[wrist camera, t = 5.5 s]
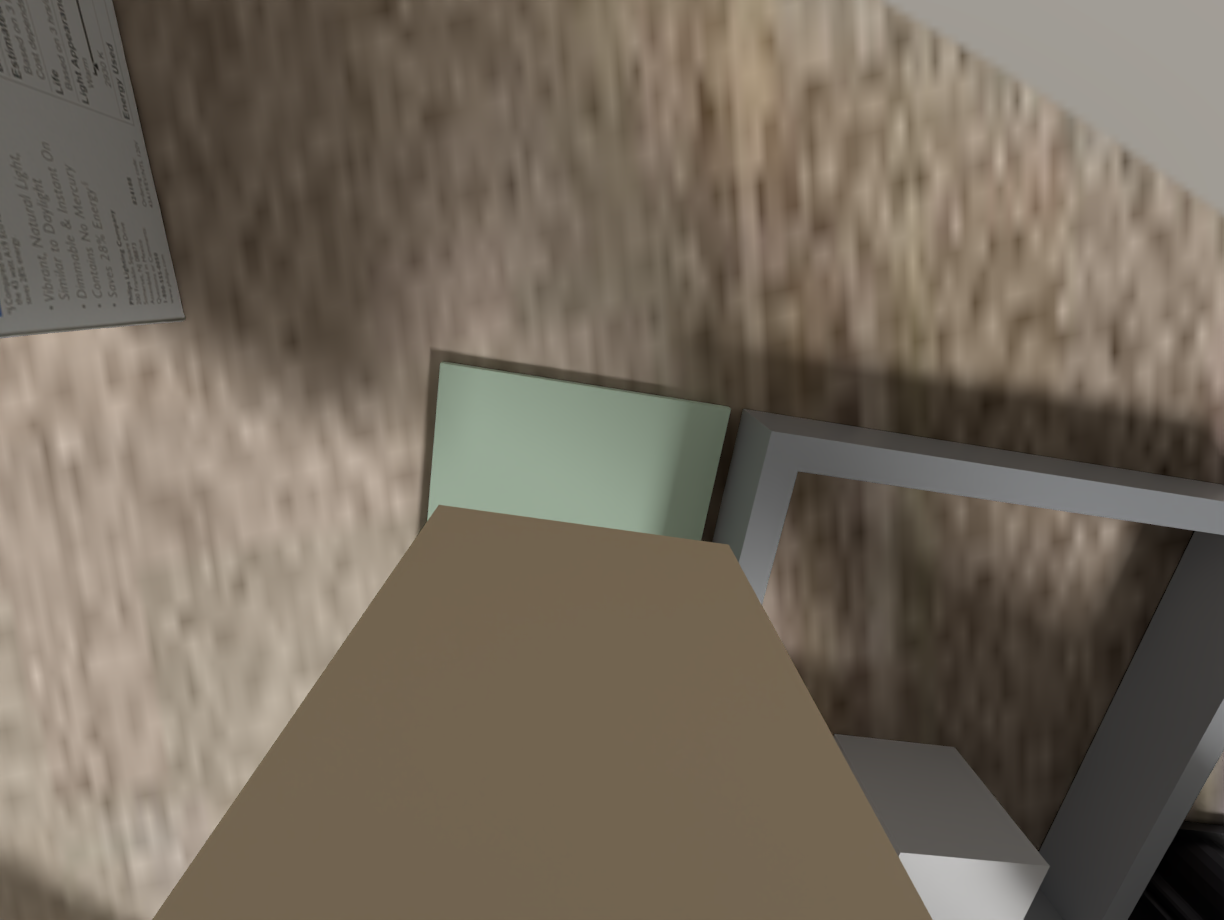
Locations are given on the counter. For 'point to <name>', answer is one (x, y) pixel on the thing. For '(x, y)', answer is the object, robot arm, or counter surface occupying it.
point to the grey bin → (1157, 676)
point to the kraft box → (553, 751)
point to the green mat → (574, 452)
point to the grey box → (947, 829)
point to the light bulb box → (75, 178)
